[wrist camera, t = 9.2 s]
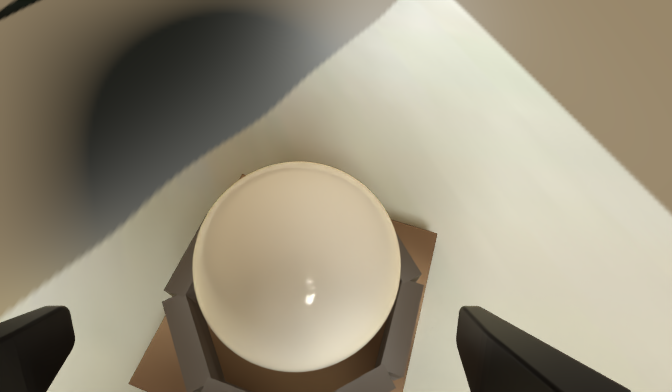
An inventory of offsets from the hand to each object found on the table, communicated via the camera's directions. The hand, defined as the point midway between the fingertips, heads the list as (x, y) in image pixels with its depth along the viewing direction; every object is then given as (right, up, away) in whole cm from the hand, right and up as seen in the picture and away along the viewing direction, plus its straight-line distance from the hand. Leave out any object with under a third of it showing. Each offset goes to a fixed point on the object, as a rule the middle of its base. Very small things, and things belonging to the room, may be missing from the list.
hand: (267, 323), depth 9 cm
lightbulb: (0, -3, +10) cm, 11 cm away
